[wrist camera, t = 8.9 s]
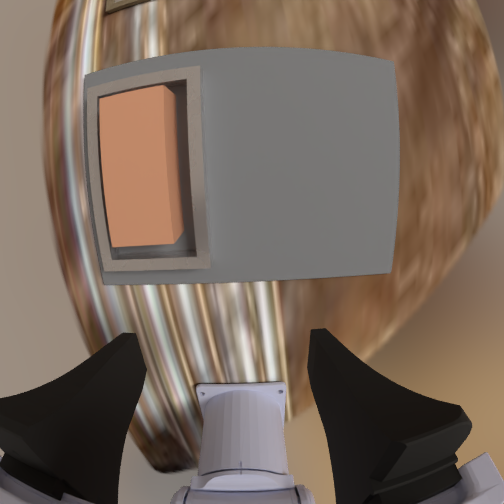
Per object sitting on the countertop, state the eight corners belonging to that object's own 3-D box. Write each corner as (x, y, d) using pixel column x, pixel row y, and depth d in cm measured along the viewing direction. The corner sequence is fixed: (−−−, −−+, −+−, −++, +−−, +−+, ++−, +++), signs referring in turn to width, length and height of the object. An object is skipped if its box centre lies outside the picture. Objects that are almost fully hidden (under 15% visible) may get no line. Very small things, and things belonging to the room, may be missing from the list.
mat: (389, 271, 20) (390, 272, 20) (105, 283, 20) (104, 284, 20) (391, 62, 15) (393, 61, 15) (86, 75, 15) (84, 75, 15)
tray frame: (213, 260, 19) (210, 268, 18) (112, 263, 19) (104, 271, 18) (203, 72, 15) (200, 65, 14) (97, 91, 15) (87, 88, 14)
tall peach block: (176, 95, 16) (163, 85, 13) (184, 230, 19) (174, 243, 16) (119, 105, 16) (99, 98, 13) (129, 233, 19) (112, 247, 16)
